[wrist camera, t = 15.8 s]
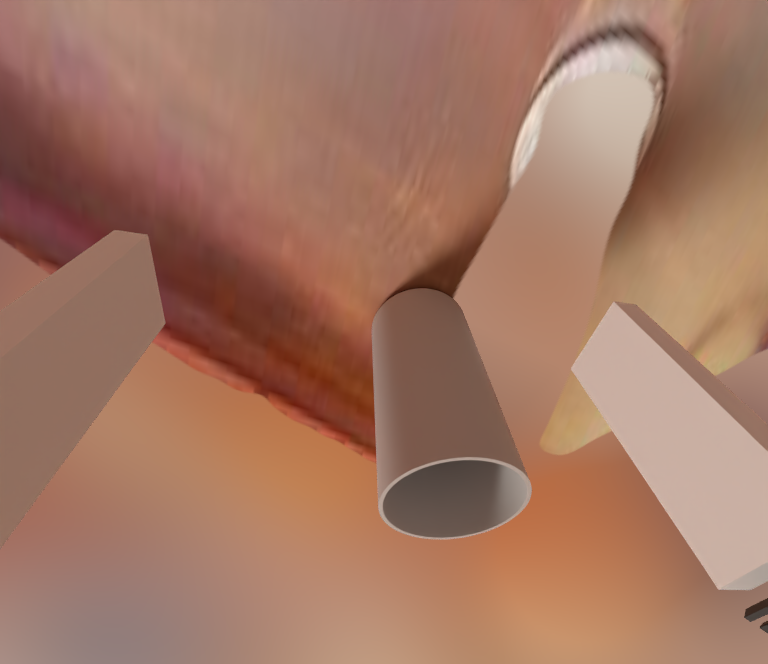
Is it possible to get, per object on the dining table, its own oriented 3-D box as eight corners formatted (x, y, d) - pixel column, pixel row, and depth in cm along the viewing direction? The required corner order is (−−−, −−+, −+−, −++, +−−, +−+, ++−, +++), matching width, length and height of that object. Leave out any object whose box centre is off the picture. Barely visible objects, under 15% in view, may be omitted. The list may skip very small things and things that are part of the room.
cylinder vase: (481, 324, 51) (559, 499, 31) (413, 373, 56) (442, 551, 36) (422, 266, 45) (471, 434, 25) (352, 326, 50) (346, 507, 30)
